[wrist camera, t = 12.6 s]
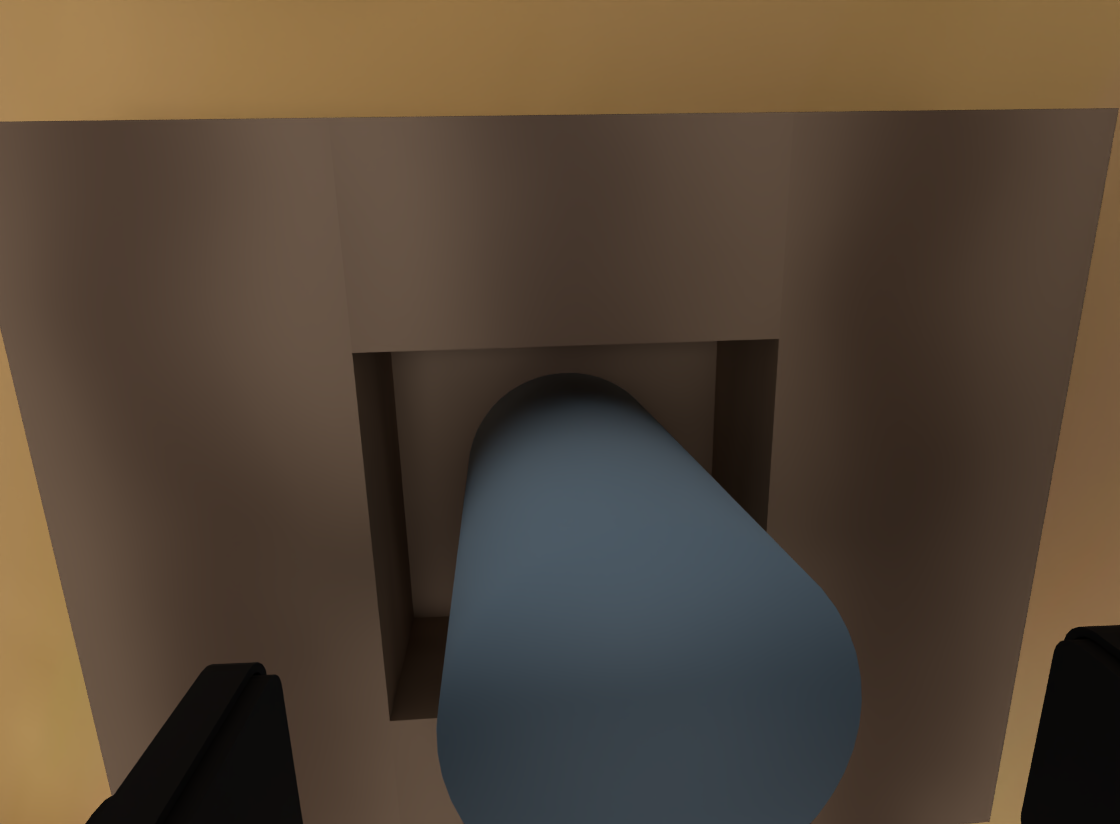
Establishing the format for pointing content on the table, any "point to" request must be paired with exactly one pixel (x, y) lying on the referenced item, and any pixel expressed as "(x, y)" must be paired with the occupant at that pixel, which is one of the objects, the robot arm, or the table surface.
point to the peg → (630, 633)
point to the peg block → (531, 352)
